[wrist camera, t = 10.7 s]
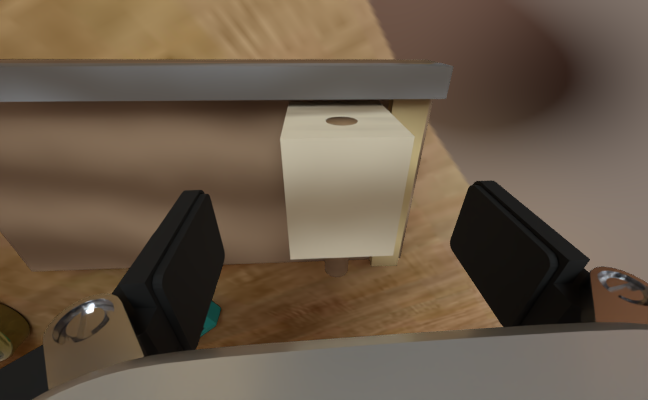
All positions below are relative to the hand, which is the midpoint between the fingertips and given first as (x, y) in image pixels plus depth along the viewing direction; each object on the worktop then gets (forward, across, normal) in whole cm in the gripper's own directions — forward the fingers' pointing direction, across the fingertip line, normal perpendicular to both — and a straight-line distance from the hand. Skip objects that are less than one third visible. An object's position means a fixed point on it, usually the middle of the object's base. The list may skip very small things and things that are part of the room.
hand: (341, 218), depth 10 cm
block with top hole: (+7, 0, +2) cm, 8 cm away
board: (+10, +8, +3) cm, 13 cm away
